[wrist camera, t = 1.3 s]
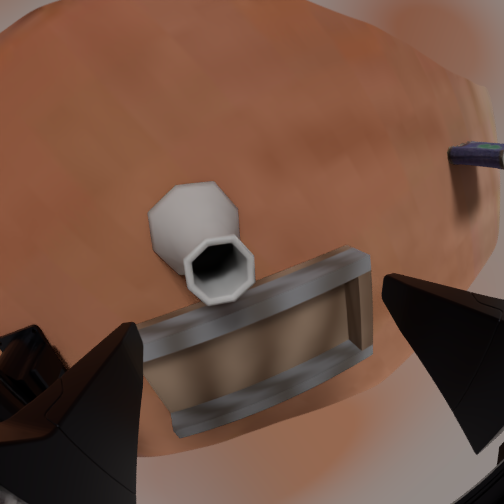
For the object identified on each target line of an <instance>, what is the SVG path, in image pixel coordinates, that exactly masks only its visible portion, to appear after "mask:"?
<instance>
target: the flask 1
mask: <svg viewBox="0 0 504 504" xmlns="http://www.w3.org/2000/svg"><path fill="white" fill-rule="evenodd" d="M148 220H149V227H150V234H151V241H152V248H153V250H154V251H155V252H156V253H157V254H158V255H159V256H160V257H161V258H162V259H163V260H164V261H165V262H166V263H167V264H168V265H169V266H170V267H171V268H172V269H173V270H174V271H176V272H177V273H178V274H179V275H185V276H186V283H187V288H188V289H189V290H190V291H191V292H192V293H193V294H194V295H196V296H197V297H198V298H199V299H200V300H201V301H202V302H203V303H205V304H206V305H207V306H212V305H218V304H224V303H229V302H235V301H236V300H237V299H238V298H239V297H240V296H241V295H243V294H244V293H245V292H246V291H247V290H248V289H249V288H250V287H251V286H252V285H253V284H254V283H255V265H254V255H253V254H252V253H251V252H250V251H249V250H248V249H247V248H246V246H245V245H244V244H243V243H242V242H241V241H240V232H239V217H238V208H237V207H236V206H235V205H234V204H233V202H232V201H231V200H230V199H229V198H228V197H227V196H226V194H225V193H224V192H223V191H222V190H221V189H220V188H219V186H218V185H217V184H216V183H215V182H214V181H210V182H200V183H191V184H182V185H175V186H174V187H173V188H172V189H171V190H170V191H169V192H168V193H167V194H166V195H165V196H164V197H163V198H162V199H161V200H160V201H159V202H158V203H157V204H156V205H155V206H154V207H153V208H152V209H151V210H150V211H149V212H148Z"/></svg>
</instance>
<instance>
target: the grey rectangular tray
mask: <svg viewBox="0 0 504 504" xmlns="http://www.w3.org/2000/svg"><path fill="white" fill-rule="evenodd" d="M136 326H137V328H138V331H139V333H140V336H141V338H142V341H143V346H144V350H143V375H144V376H145V378H146V379H147V381H148V382H149V384H150V385H151V387H152V388H153V389H154V391H155V392H156V394H157V395H158V397H159V398H160V399H161V401H162V402H163V403H164V405H165V406H166V407H167V409H168V410H169V411H170V413H171V419H172V425H173V431H174V432H175V433H176V435H177V436H178V437H179V438H183V437H187V436H190V435H194V434H197V433H200V432H204V431H207V430H210V429H213V428H216V427H219V426H222V425H225V424H228V423H231V422H234V421H236V420H239V419H242V418H245V417H247V416H250V415H252V414H255V413H257V412H260V411H262V410H265V409H267V408H270V407H272V406H274V405H277V404H279V403H281V402H283V401H286V400H288V399H290V398H292V397H294V396H297V395H299V394H301V393H303V392H305V391H307V390H309V389H311V388H313V387H315V386H317V385H319V384H321V383H323V382H325V381H327V380H329V379H330V378H332V377H334V376H336V375H338V374H340V373H341V372H343V371H345V370H347V369H349V368H350V367H352V366H354V365H356V364H357V363H359V362H361V361H362V360H364V359H366V358H367V357H369V356H371V355H372V354H373V301H372V278H371V263H370V255H369V254H366V253H364V252H362V251H360V250H357V249H355V248H353V247H351V246H348V245H345V246H343V247H340V248H338V249H336V250H333V251H331V252H328V253H326V254H323V255H321V256H318V257H316V258H313V259H311V260H308V261H306V262H303V263H301V264H298V265H296V266H293V267H291V268H288V269H286V270H283V271H281V272H278V273H275V274H273V275H270V276H268V277H265V278H263V279H260V280H257V281H255V283H254V284H253V285H252V286H251V287H250V288H249V289H248V290H247V291H246V292H245V293H244V294H243V295H241V296H240V297H239V298H238V299H237V300H236V301H235V302H229V303H224V304H218V305H212V306H207V305H206V304H205V303H203V302H202V301H201V302H199V303H196V304H193V305H190V306H187V307H185V308H182V309H179V310H176V311H173V312H171V313H168V314H165V315H162V316H159V317H156V318H154V319H151V320H148V321H145V322H142V323H139V324H136Z"/></svg>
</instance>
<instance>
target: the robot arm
mask: <svg viewBox="0 0 504 504" xmlns="http://www.w3.org/2000/svg"><path fill="white" fill-rule="evenodd" d="M382 300H383V302H384V304H385V305H386V307H387V309H388V310H389V312H390V314H391V316H392V317H393V319H394V321H395V323H396V325H397V326H398V328H399V330H400V331H401V333H402V334H403V336H404V337H405V338H406V340H407V341H408V343H409V344H410V346H411V347H412V349H413V350H414V352H415V353H416V355H417V356H418V357H419V359H420V361H421V362H422V364H423V365H424V367H425V368H426V370H427V371H428V373H429V374H430V376H431V377H432V379H433V381H434V382H435V384H436V385H437V387H438V388H439V390H440V392H441V393H442V395H443V397H444V398H445V400H446V402H447V403H448V405H449V407H450V408H451V410H452V412H453V413H454V416H455V417H456V419H457V421H458V422H459V424H460V426H461V428H462V430H463V431H464V433H465V435H466V437H467V439H468V440H469V443H470V445H471V446H472V448H473V450H474V452H475V453H476V454H479V453H480V452H481V451H482V450H483V449H484V448H486V447H487V446H488V445H489V444H490V443H491V442H492V441H493V440H494V439H496V438H497V437H498V436H499V435H500V434H501V433H502V432H503V431H504V300H502V299H498V298H493V297H488V296H485V295H480V294H476V293H473V292H468V291H465V290H461V289H457V288H453V287H449V286H445V285H441V284H437V283H433V282H429V281H425V280H421V279H417V278H412V277H408V276H404V275H400V274H396V273H392V274H388V275H386V276H385V277H384V279H383V287H382ZM33 329H34V330H36V332H35V331H34V330H33ZM0 342H1V343H0V350H1V351H2V354H1V356H0V504H136V466H137V465H136V464H137V445H138V431H139V418H140V408H141V398H142V389H143V350H144V346H143V341H142V338H141V336H140V333H139V331H138V328H137V326H136V324H135V323H134V322H127V323H122V324H121V325H120V326H119V327H118V328H117V329H115V330H114V331H113V332H112V333H111V334H109V335H108V336H107V337H106V338H105V339H104V340H102V341H101V342H100V343H99V344H98V345H97V346H95V347H94V348H93V349H92V350H91V351H90V352H88V353H87V354H86V355H85V356H84V357H83V358H82V359H80V360H79V361H78V362H77V363H76V364H75V365H74V366H72V367H71V368H70V369H69V370H68V371H67V370H66V369H65V368H64V366H63V365H62V363H61V362H60V360H59V359H58V357H57V356H56V354H55V353H54V351H53V350H52V348H51V347H50V345H49V344H48V342H47V340H46V339H45V337H44V336H43V334H42V332H41V331H40V329H39V327H38V326H37V325H31V326H28V327H25V328H23V329H20V330H17V331H15V332H12V333H9V334H7V335H4V336H1V337H0ZM452 504H504V442H503V443H502V445H501V446H500V447H499V454H498V461H497V466H496V467H495V468H494V469H493V470H492V471H491V472H490V473H489V474H488V475H486V476H485V477H484V478H483V479H482V480H481V481H480V482H478V483H477V484H476V485H475V486H474V487H472V488H471V489H470V490H469V491H467V492H466V493H465V494H464V495H462V496H461V497H460V498H458V499H457V500H456V501H454V502H453V503H452Z"/></svg>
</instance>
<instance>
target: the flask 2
mask: <svg viewBox="0 0 504 504" xmlns="http://www.w3.org/2000/svg"><path fill="white" fill-rule="evenodd" d="M447 154H448V160H449V162H450V163H451V164H454V165H455V164H457V165H458V164H464V165H474V166H483V167H492V168H498V169H504V144H499V143H487V142H474V141H471V142H468V143H465V144H464V143H462V144H460V146H458V145H457V146H456V147H454V146H452V147H449V150H448V152H447Z"/></svg>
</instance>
